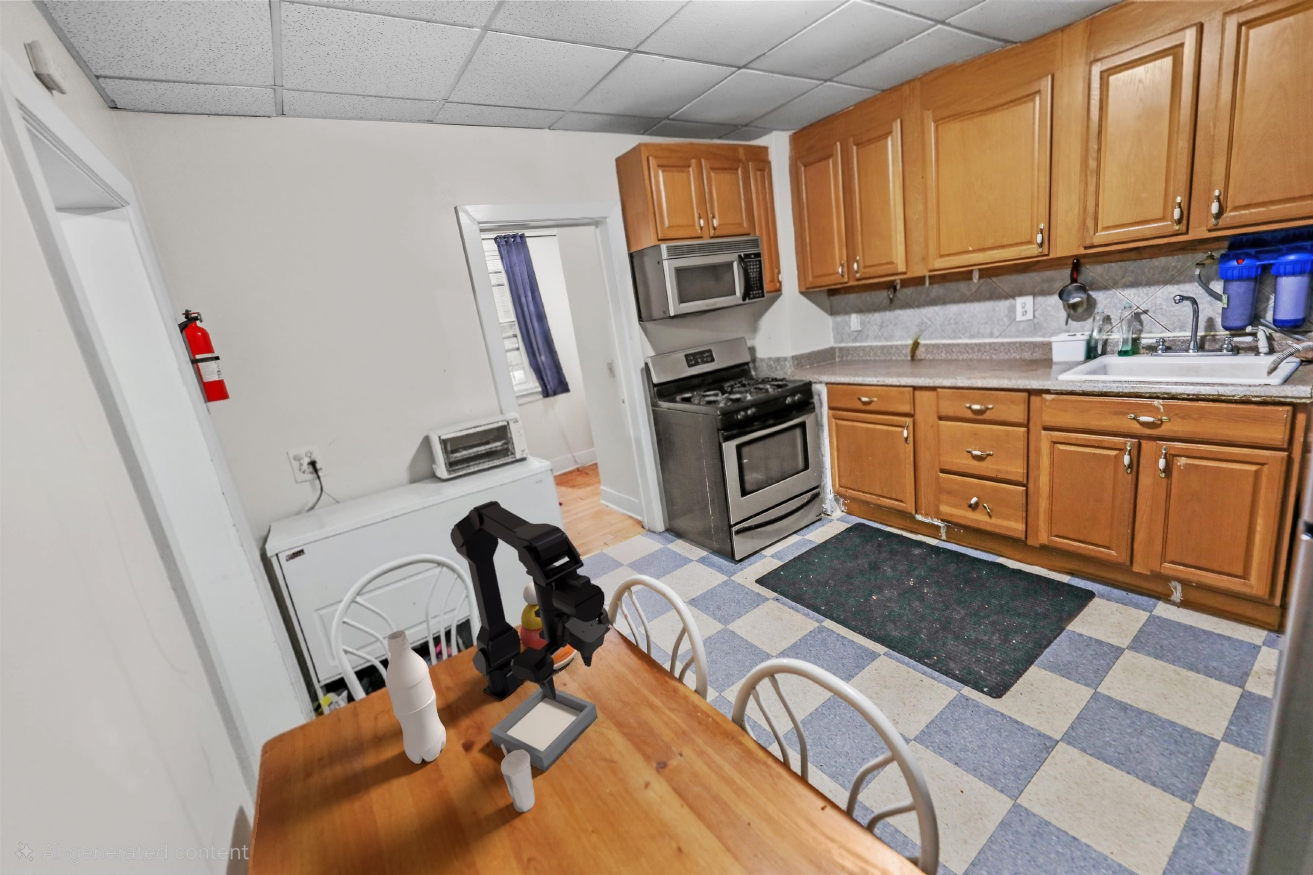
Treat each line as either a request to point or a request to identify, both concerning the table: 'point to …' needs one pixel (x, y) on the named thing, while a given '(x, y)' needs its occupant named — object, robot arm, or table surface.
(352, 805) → the table surface
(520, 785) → the milkshake
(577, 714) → the gray square tray
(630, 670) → the table surface
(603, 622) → the robot arm
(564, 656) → the stacking toy
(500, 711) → the table surface
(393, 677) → the water bottle
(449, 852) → the table surface
